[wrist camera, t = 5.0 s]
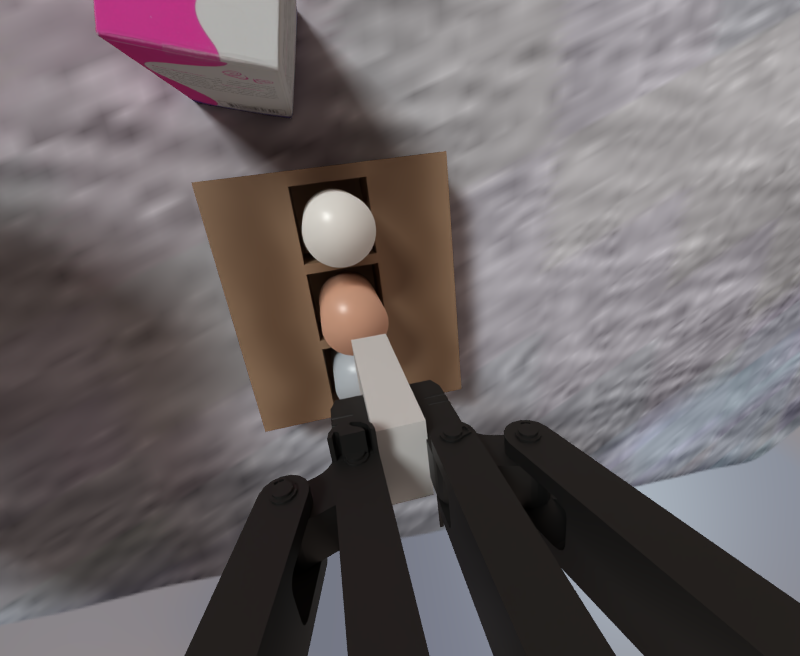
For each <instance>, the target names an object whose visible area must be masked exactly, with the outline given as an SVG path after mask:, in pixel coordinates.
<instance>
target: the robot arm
mask: <svg viewBox="0 0 800 656" xmlns="http://www.w3.org/2000/svg"><path fill="white" fill-rule="evenodd" d="M351 343H352V349H353V354H354V360H355V366H356V371H357V377H358V383H359V388H360V394H361V395H359V396H354V397H349V398H345V399H340V400H335V402H334V404H333V406H332V408H331V409H330V411H331V423H332V430H331V431H330V432H329V433H328V438H327V440H328V445H329V449H330V454H331V458H332V464H331V465H330V466H329V468H328V469H327V470H326V471H324V472H323V473H322V474H320V475H319V476H317V477H315V478H313V479H311V480H309V481H306V479H305V478H303V477H301V476H298V475H288V476H283V477H280V478H278V479H275V480H273V481H271V482H270V483H269V484H268V485H266V486H265V487H264V488H263V489H262V491H261V492H260V494H259V495H258V497H257V500H256V502H255V504H254V506H253V508H252V511H251V513H250V515H249V517H248V519H247V521H246V524H245V526H244V528H243V530H242V532H241V534H240V537H239V539H238V541H237V543H236V545H235V547H234V550H233V552H232V554H231V556H230V558H229V560H228V563H227V565H226V567H225V569H224V571H223V573H222V576H221V578H220V580H219V582H218V584H217V587H216V589H215V591H214V593H213V595H212V597H211V600H210V602H209V604H208V606H207V608H206V611H205V613H204V615H203V617H202V619H201V621H200V624H199V626H198V628H197V630H196V632H195V634H194V637H193V639H192V641H191V643H190V645H189V647H188V649H187V652H186V654H185V656H307V655H308V651H309V646H310V641H311V636H312V632H313V627H314V623H315V618H316V613H317V608H318V604H319V599H320V595H321V590H322V585H323V581H324V576H325V571H326V567H327V557H329V556H331V555H332V554H334V553H336V552H337V551H339V550H340V562H341V575H342V587H343V600H344V612H345V624H346V638H347V651H348V656H429V652H428V648H427V644H426V640H425V636H424V632H423V628H422V624H421V619H420V615H419V611H418V607H417V604H416V600H415V595H414V591H413V587H412V583H411V579H410V575H409V571H408V568H407V563H406V559H405V555H404V551H403V547H402V543H401V539H400V535H399V531H398V527H397V523H396V519H395V514H394V510H393V506H392V505H394V504H398V503H402V502H406V501H410V500H414V499H418V498H422V497H426V496H430V495H434V494H433V486H434V488H435V491H436V493H437V502H438V511H439V521H440V527H443V526H444V525H445V527H446V530H447V532H448V535H449V538H450V541H451V543H452V546H453V549H454V551H455V554H456V557H457V559H458V562H459V565H460V567H461V570H462V573H463V575H464V578H465V581H466V584H467V586H468V589H469V591H470V594H471V597H472V600H473V602H474V605H475V607H476V610H477V613H478V616H479V618H480V621H481V624H482V626H483V629H484V631H485V634H486V637H487V640H488V642H489V645H490V648H491V650H492V653H493V656H616V655H615V653H614V652H613V650H612V649H611V647H610V645H609V644H608V642H607V641H606V639H605V638H604V636H603V634H602V633H601V631H600V629H599V628H598V626H597V625H596V623H595V622H594V620H593V618H592V617H591V615H590V613H589V612H588V610H587V609H586V607H585V606H584V604H583V602H582V601H581V599H580V598H579V596H578V594H577V593H576V591H575V590H574V588H573V586H572V585H571V583H570V582H569V580H568V579H567V577H566V575H565V574H564V572H563V570H564V571H565V572H566V573H567V575H568V576H569V577H570V578H571V579H572V580H573V581H574V582H575V583H576V584H577V585H578V586H579V587H580V588H581V589H582V590H583V591H584V593H585V594H586V595H587V596H588V597H589V598H590V599H591V600H592V601H593V602H594V603H595V604H596V605H597V606H598V607H599V608H600V609H601V611H602V612H603V613H604V614H605V615H606V616H607V617H608V618H609V619H610V620H611V621H612V622H613V623H614V624H615V625H616V626H617V627H618V628H619V630H621V632H622V633H623V634H624V635H625V636H626V637H627V638H628V639H629V640H630V641H631V642H632V643H633V644H634V645H635V647H637V649H638V650H639V651H640V652H641V653H642V654H643V655H644V656H800V603H799V602H797V601H796V600H794V599H793V598H792V597H790V596H789V595H787V594H786V593H785V592H783V591H782V590H780V589H779V588H777V587H776V586H774V585H773V584H772V583H770V582H769V581H767V580H766V579H764V578H763V577H762V576H760V575H759V574H757V573H756V572H754V571H753V570H752V569H750V568H748V567H747V566H745V565H744V564H743V563H741V562H740V561H739V560H737V559H736V558H734V557H733V556H731V555H730V554H729V553H727V552H726V551H724V550H723V549H721V548H720V547H719V546H717V545H716V544H714V543H713V542H711V541H710V540H709V539H707V538H706V537H704V536H703V535H701V534H700V533H698V532H697V531H695V530H694V529H693V528H691V527H690V526H688V525H687V524H686V523H684V522H682V521H681V520H680V519H678V518H677V517H675V516H674V515H673V514H671V513H670V512H668V511H667V510H665V509H664V508H663V507H661V506H660V505H658V504H657V503H655V502H654V501H652V500H651V499H650V498H648V497H647V496H645V495H644V494H642V493H641V492H640V491H638V490H637V489H635V488H634V487H632V486H631V485H630V484H628V483H627V482H625V481H624V480H622V479H621V478H620V477H618V476H617V475H615V474H614V473H612V472H611V471H610V470H608V469H607V468H605V467H604V466H602V465H601V464H600V463H598V462H597V461H595V460H594V459H592V458H591V457H589V456H588V455H587V454H585V453H584V452H582V451H581V450H579V449H578V448H577V447H575V446H574V445H572V444H571V443H569V442H568V441H567V440H565V439H564V438H562V437H561V436H559V435H558V434H556V433H555V432H554V431H552V430H551V429H549V428H548V427H546V426H545V425H543V424H541V423H539V422H535V421H530V420H520V421H516V422H512V423H511V424H509V425H508V426H506V428H505V430H504V435H482V434H478V433H476V432H475V430H474V429H473V428H472V427H471V426H470V425H468V424H466V423H463V422H461V420H460V418H459V417H458V415H457V413H456V412H455V410H454V408H453V407H452V405H451V403H450V402H449V401H448V398H447V397H446V395H445V394H444V392H443V390H442V388H441V387H440V385H438V384H437V383H435V382H433V381H432V380H426V381H422V382H417V383H412V384H409V383H408V381H407V379H406V377H405V374H404V372H403V370H402V368H401V366H400V364H399V361H398V359H397V357H396V355H395V353H394V351H393V348H392V346H391V344H390V342H389V340H388V338H387V335H386V334H381V335H375V336H370V337H365V338H359V339H354V340H351ZM432 483H433V484H432ZM561 568H562V569H563V570H562V569H561Z"/></svg>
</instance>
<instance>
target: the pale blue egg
mask: <svg viewBox="0 0 800 656" xmlns="http://www.w3.org/2000/svg"><path fill="white" fill-rule="evenodd" d="M331 358H332V365H333V373H334V381H335V388H336V393H337V395H338V397H339V399H345V398H349V397H354V396H359V395H361V394H360V388H359V383H358V377H357V371H356V366H355V360H354V356H351V355H345V354H342V353H339V352H337V351H336V350H334V349H333V348H332V351H331Z"/></svg>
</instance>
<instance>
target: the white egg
mask: <svg viewBox="0 0 800 656" xmlns="http://www.w3.org/2000/svg"><path fill="white" fill-rule="evenodd" d="M302 236H303V240H304V243H305V245H306V247H307V249H308V251H309V252H310V253H311V255H312V256H313V257H314V258H315V259H317V260H318V261H319V262H321V263H323V264H325V265H327V266H331V267H336V268H343V267H349V266H352V265H355V264H357V263H359V262H360V261H361V260H363V259H364V258H365V257H366V256H367V255H368V254H369V252H370V251H371V249H372V247H373V245H374V242H375V237H376V225H375V220H374V217H373V215H372V213H371V211H370V210H369V208H368V207H367V206H366V205H365V204H364V203H363V202H362V201H361V200H360V199H358V198H356V197H355V196H353V195H351V194H349V193H348V192H346V191H344V190H341V189H336V188H328V189H324V190H321V191H319V192H317V193H315V194H314V195H313V196H312V197H311V198H310V199H309V200H308V202H307V203H306V205H305V208H304V211H303V220H302Z"/></svg>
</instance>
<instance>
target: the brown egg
mask: <svg viewBox="0 0 800 656" xmlns="http://www.w3.org/2000/svg"><path fill="white" fill-rule="evenodd" d="M319 305H320V316H321V327H322V333H323V336H324V338H325V340H326V342H327V343H328V344H329V346H330V347H332V348H333V349H334V350H336V351H337V352H339V353H342V354H345V355H351V356H354V354H353V349H352V343H351V340H354V339H359V338H365V337H370V336H375V335H381V334H387V331H388V325H389V322H388V315H387V312H386V310H385V308H384V306H383V305H382V303H381V301H380V299H379V297H378V296H377V294H376V292H375V290H374V289H373V287H372V285H371V283H370V282H369V281H368V280H367V279H366V278H365V277H364V276H362V275H360V274H358V273H355V272H341V273H337V274H335V275H333V276H331V277H330V278H329V279H328V280H327V281H326V282H325V283H324V284H323V286H322V288H321V290H320V294H319Z"/></svg>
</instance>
